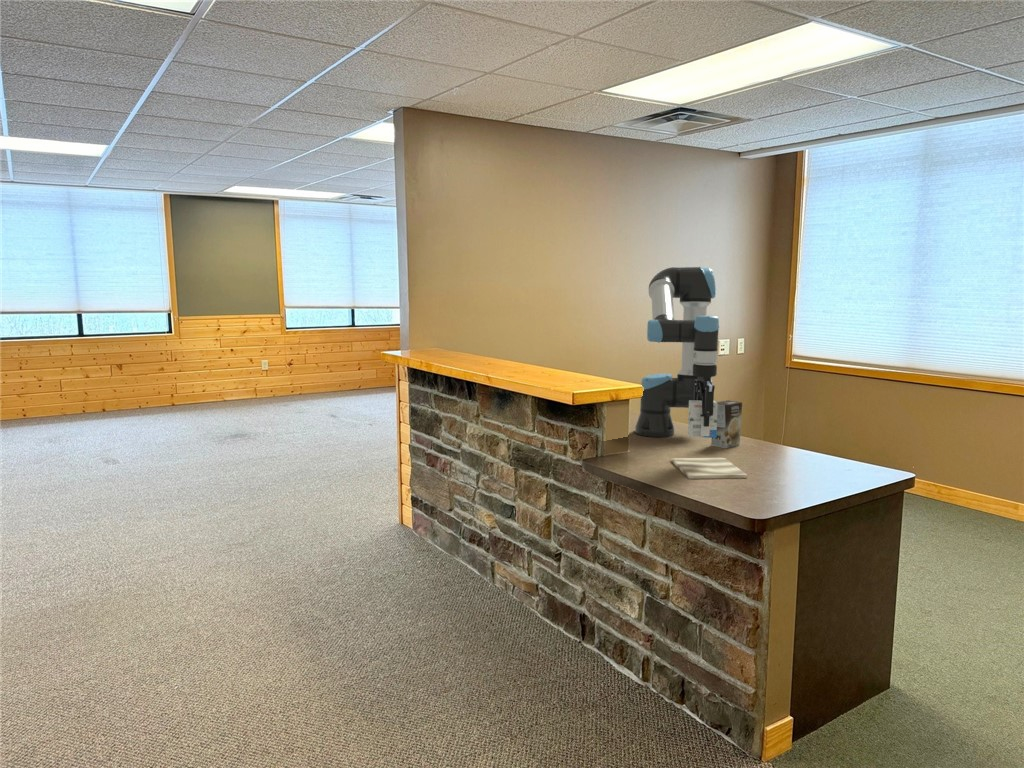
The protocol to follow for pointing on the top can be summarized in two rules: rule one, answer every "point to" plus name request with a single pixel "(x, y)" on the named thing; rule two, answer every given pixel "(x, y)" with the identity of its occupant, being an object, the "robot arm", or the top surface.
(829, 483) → the top surface
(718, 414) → the coffee box
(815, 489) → the top surface
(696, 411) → the ink box
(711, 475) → the cloth
